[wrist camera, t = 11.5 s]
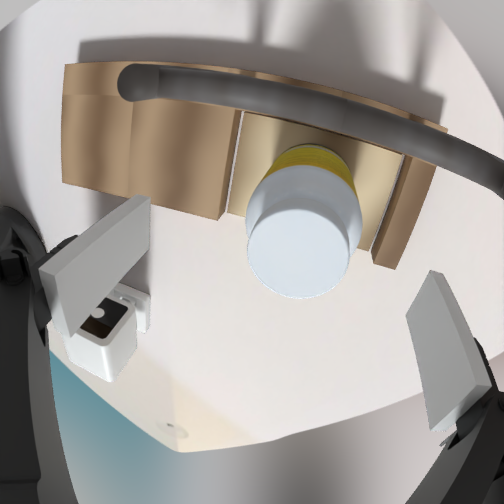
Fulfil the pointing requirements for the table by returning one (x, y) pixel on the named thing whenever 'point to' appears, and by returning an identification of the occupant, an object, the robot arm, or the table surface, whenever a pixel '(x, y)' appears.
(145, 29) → the table surface
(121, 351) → the security camera
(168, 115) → the shelf board
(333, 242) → the pill bottle
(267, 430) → the table surface
